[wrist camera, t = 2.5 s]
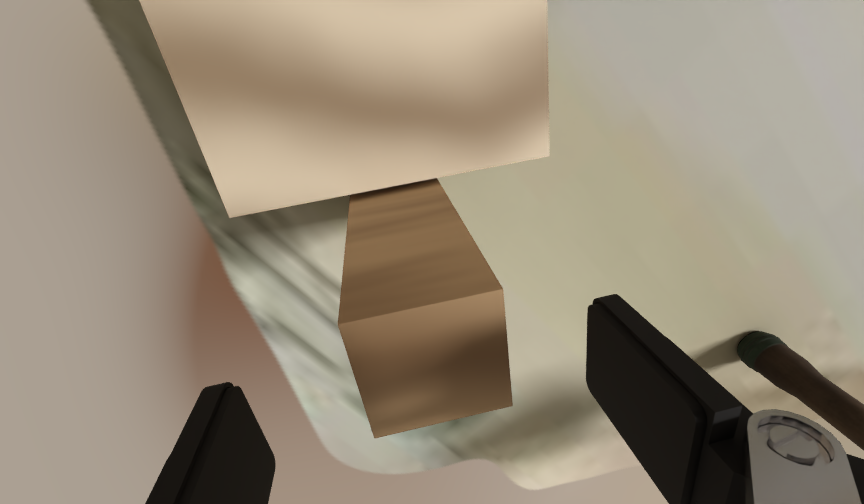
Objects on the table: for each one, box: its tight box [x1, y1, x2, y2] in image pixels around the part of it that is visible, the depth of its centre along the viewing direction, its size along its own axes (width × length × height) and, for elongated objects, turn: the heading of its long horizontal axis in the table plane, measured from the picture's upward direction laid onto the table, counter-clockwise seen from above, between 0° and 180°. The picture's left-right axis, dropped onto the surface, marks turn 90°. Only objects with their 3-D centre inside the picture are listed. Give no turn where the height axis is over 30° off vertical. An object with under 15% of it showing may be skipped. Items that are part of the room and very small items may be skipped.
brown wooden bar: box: [338, 178, 513, 438], centre depth 18 cm, size 4×4×18 cm
